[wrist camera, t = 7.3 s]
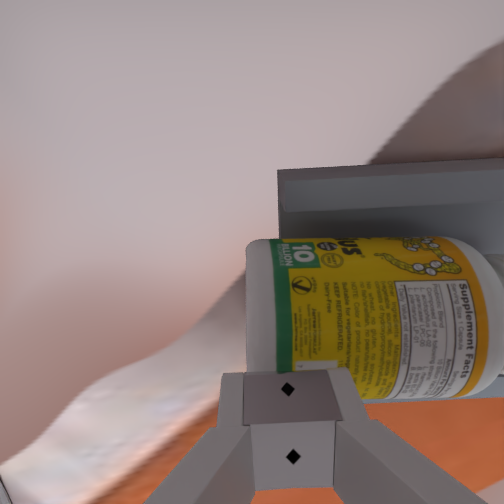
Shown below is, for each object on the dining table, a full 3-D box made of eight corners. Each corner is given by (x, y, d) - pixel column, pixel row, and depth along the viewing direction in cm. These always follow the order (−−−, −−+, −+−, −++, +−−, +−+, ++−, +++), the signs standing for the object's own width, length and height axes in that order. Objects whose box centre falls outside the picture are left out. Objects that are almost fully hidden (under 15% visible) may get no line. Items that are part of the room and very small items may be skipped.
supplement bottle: (246, 431, 9) (615, 425, 9) (243, 227, 9) (594, 222, 9) (248, 375, 14) (479, 371, 14) (246, 246, 15) (470, 243, 15)
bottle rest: (277, 169, 14) (285, 181, 11) (635, 150, 13) (737, 156, 11) (282, 359, 17) (289, 407, 14) (573, 345, 17) (640, 390, 14)
